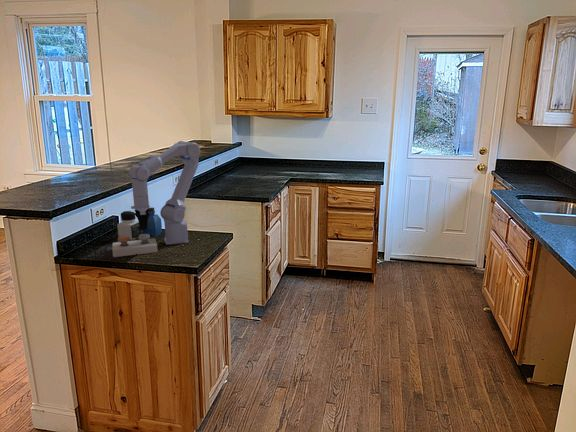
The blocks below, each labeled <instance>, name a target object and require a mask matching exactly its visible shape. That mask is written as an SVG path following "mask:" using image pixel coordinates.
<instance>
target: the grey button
mask: <svg viewBox="0 0 576 432" xmlns="http://www.w3.org/2000/svg"><path fill="white" fill-rule="evenodd" d="M148 239H151V236H150V234H143V233H141V235H139V237H138V240H142V244H148Z"/></svg>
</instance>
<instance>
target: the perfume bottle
mask: <svg viewBox="0 0 576 432" xmlns="http://www.w3.org/2000/svg"><path fill="white" fill-rule="evenodd" d="M148 213H150V215H149V218H148V223H147V230H142V234H150V235H152V236H151V237H153V236H154V237H157V236H158V235H160V234H161V233H162V232H163V227H162V217H161V216H159V215H158V214H155V213H156V210H155V207H149V211H148Z"/></svg>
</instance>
